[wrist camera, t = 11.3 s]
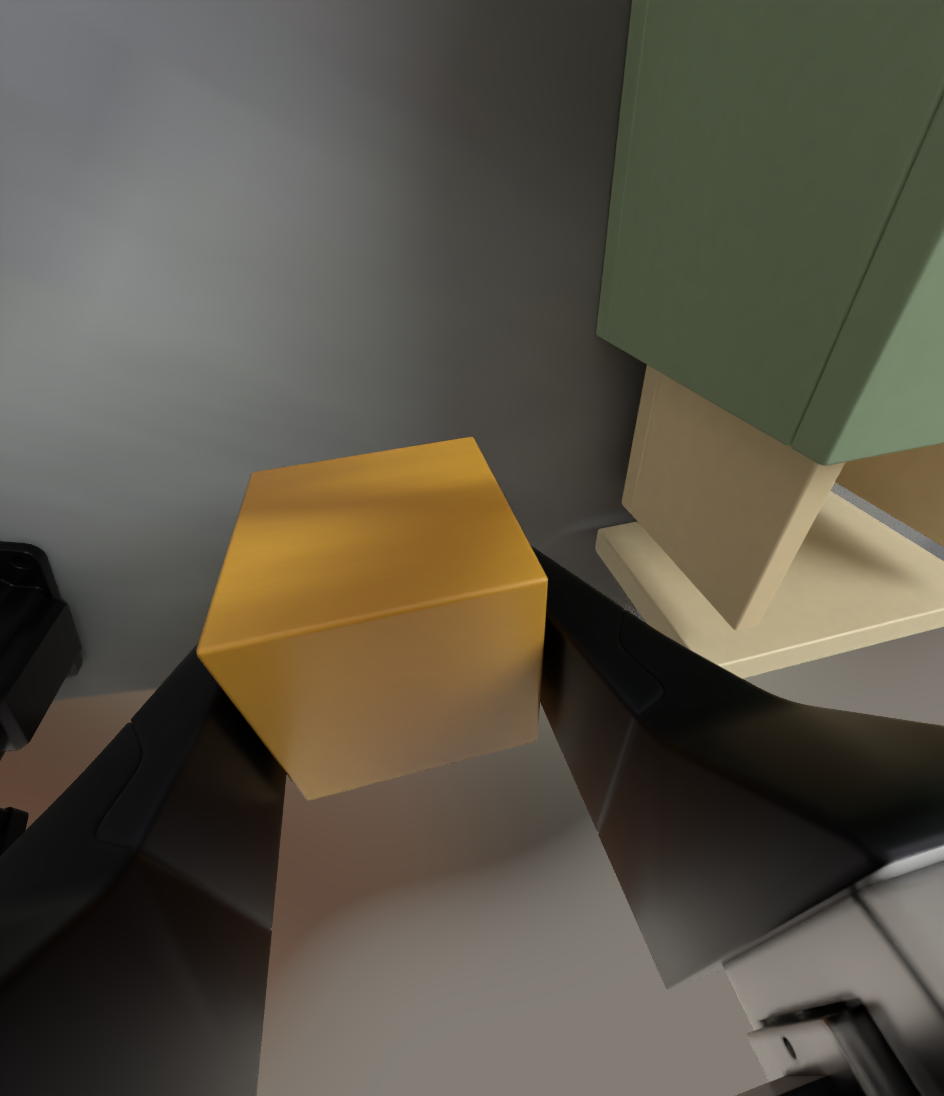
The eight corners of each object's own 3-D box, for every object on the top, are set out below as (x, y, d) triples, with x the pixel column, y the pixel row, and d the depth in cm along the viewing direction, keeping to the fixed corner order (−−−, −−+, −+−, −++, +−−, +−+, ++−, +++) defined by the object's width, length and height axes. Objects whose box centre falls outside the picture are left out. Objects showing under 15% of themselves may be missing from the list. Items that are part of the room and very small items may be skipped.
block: (316, 621, 11) (306, 802, 8) (249, 471, 8) (191, 654, 5) (483, 587, 12) (538, 742, 9) (473, 434, 9) (550, 578, 6)
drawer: (772, 577, 24) (901, 693, 19) (583, 620, 23) (662, 760, 17) (991, 152, 13) (1472, 128, 7) (648, 183, 12) (930, 180, 6)
